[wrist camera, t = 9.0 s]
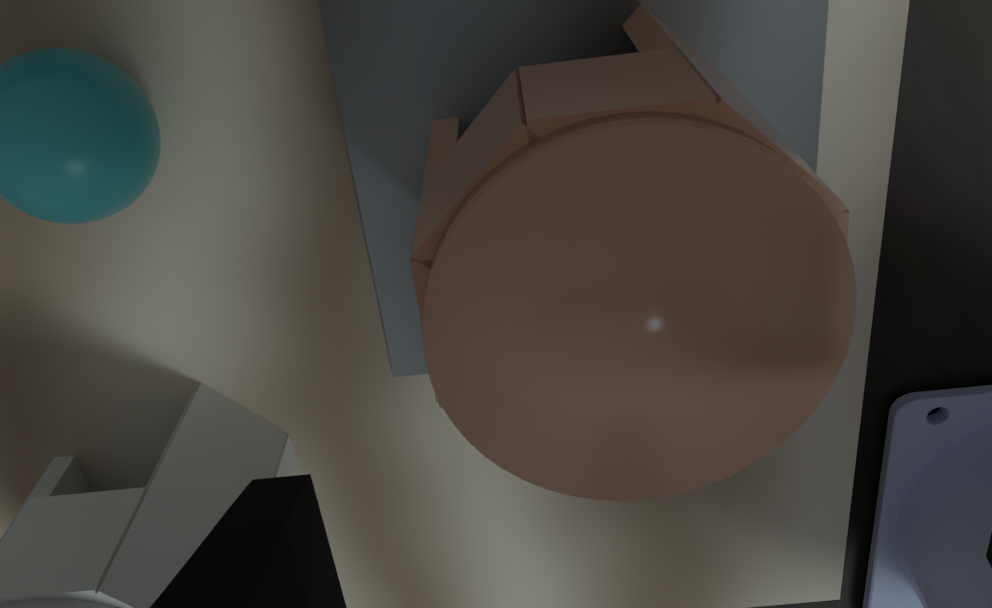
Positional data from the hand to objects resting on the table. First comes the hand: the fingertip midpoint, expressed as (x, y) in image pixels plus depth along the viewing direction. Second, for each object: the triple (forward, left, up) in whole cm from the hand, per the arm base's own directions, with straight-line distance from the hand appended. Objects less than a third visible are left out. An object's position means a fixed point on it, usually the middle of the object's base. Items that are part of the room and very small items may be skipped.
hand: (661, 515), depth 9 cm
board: (+5, +3, -10) cm, 12 cm away
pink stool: (0, -1, -9) cm, 9 cm away
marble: (+9, -2, -8) cm, 12 cm away
